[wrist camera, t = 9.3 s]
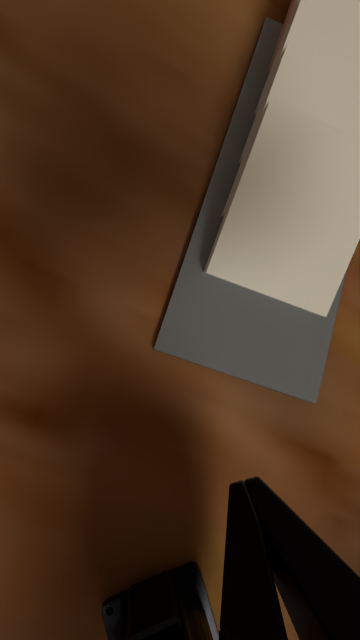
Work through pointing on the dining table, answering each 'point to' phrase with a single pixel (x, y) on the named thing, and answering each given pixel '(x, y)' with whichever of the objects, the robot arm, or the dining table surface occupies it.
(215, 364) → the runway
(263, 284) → the tile
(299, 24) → the tile
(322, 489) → the dining table surface
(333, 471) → the dining table surface
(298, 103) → the tile
